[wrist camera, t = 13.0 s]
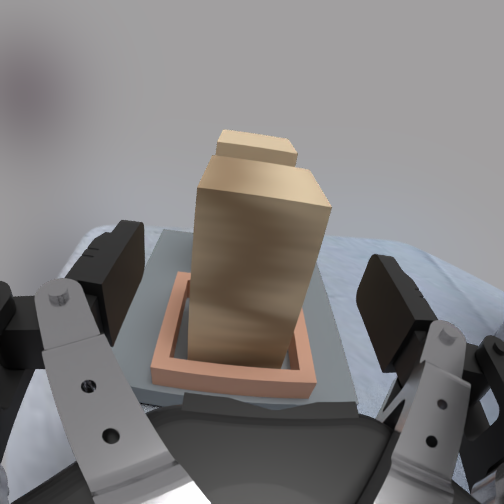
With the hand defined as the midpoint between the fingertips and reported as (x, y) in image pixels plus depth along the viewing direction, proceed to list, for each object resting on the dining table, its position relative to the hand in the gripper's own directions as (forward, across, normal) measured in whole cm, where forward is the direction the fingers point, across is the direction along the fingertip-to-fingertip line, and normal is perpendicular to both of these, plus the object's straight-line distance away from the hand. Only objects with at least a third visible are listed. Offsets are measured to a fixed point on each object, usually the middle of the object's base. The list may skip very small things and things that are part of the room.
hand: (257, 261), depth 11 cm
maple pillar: (+4, 0, +8) cm, 9 cm away
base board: (+8, 0, +10) cm, 13 cm away
